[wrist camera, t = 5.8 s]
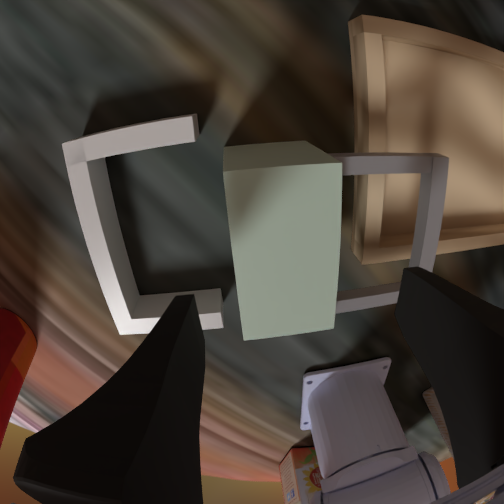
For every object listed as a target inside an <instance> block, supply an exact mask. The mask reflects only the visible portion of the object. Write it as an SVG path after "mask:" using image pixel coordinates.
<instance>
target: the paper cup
mask: <svg viewBox="0 0 504 504" xmlns="http://www.w3.org/2000/svg"><path fill="white" fill-rule="evenodd" d="M36 349H37V342H36V338H35V336H34V334H33V332H32V330H31V329H30V328H29V326H28V325H27V324H26V323H25V322H24V321H23V320H22V319H21V318H20V317H19V316H18V315H16V314H15V313H13V312H11V311H10V310H7V309H4V308H0V448H1V445H2V441H3V438H4V435H5V432H6V428H7V425H8V423H9V420H10V417H11V414H12V411H13V408H14V406H15V403H16V400H17V397H18V395H19V392H20V390H21V387H22V384H23V382H24V379H25V377H26V374H27V372H28V369H29V367H30V365H31V362H32V360H33V357H34V355H35V352H36Z"/></svg>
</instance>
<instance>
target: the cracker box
mask: <svg viewBox="0 0 504 504" xmlns="http://www.w3.org/2000/svg"><path fill="white" fill-rule="evenodd" d="M279 470H280V476H281V483H282V488H283V489H282V490H283V496H284V503H285V504H309V503H310V500H311V499H312V497H313V495H314V493H315V492H317V491H320V490H322V488H321V483H320V480H323V479H324V478H323V477H322V475H321V472H320V468H319V464H318V459H317V455H316V450H315V447H306V448H292V449H291V450H290V451H289V453H288V454H287V455H286V457H285V458H284V460H283V461H282V462H281V464H280V465H279Z"/></svg>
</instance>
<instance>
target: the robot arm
mask: <svg viewBox="0 0 504 504" xmlns="http://www.w3.org/2000/svg"><path fill="white" fill-rule="evenodd" d="M394 314H395V317H396V319H397V322H398V324H399V327H400V329H401V331H402V334H403V336H404V338H405V340H406V341H407V343H408V345H409V347H410V348H411V350H412V352H413V354H414V355H415V357H416V359H417V361H418V362H419V364H420V366H421V368H422V369H423V371H424V373H425V375H426V376H427V378H428V380H429V382H430V384H431V386H432V388H433V390H434V392H435V395H436V398H437V400H438V403H439V405H440V408H441V411H442V414H443V417H444V420H445V423H446V427H447V430H448V434H449V438H450V442H451V446H452V450H453V455H454V461H455V468H456V475H457V485H458V487H459V490H457V491H455V492H453V493H450V488H449V485H448V482H447V479H446V476H445V474H444V471H443V469H442V467H441V465H440V463H439V462H438V460H437V459H436V457H435V456H434V455H432V454H429V453H427V452H424V451H423V452H421V453H419V454H417V452H416V450H415V447H414V446H409V444H408V441H407V439H406V437H405V434H404V432H403V429H402V427H401V425H400V422H399V420H398V418H397V416H396V413H395V411H394V409H393V406H392V404H391V402H390V400H389V397H388V395H387V393H386V391H385V388H384V383H385V380H386V377H387V374H388V371H389V368H390V365H391V359H390V358H389V357H385V358H380V359H376V360H371V361H367V362H362V363H357V364H352V365H347V366H342V367H337V368H331V369H326V370H320V371H314V372H308V373H306V374H305V375H304V376H303V391H302V406H301V421H300V428H301V430H308V429H311V433H312V437H313V442H314V446H315V450H316V455H317V459H318V464H319V468H320V472H321V475H322V477H323V478H324V479H323V480H320V483H321V488H322V490H320V491H317V492H315V493H314V495H313V497H312V499H311V500H310V503H309V504H474V503H476V502H477V501H479V500H481V499H482V498H484V497H486V496H487V495H489V494H491V493H492V492H494V491H495V490H496V491H495V493H494V497H493V499H491V500H490V501H488V502H487V503H485V504H504V310H503V309H501V308H499V307H497V306H494V305H492V304H490V303H488V302H486V301H484V300H482V299H480V298H478V297H476V296H474V295H472V294H471V293H469V292H467V291H465V290H463V289H461V288H459V287H458V286H456V285H454V284H452V283H450V282H449V281H447V280H445V279H443V278H441V277H439V276H437V275H436V274H434V273H432V272H430V271H428V270H425V269H423V268H421V267H418V266H416V267H410V268H404V269H403V275H402V280H401V285H400V290H399V295H398V300H397V304H396V309H395V313H394ZM204 374H205V339H204V335H203V331H202V326H201V322H200V318H199V313H198V309H197V305H196V300H195V296H194V294H188V295H177V296H175V297H174V298H173V300H172V301H171V303H170V304H169V306H168V307H167V309H166V310H165V312H164V313H163V314H162V316H161V317H160V319H159V320H158V322H157V323H156V325H155V326H154V327H153V329H152V330H151V331H150V333H149V334H148V335H147V337H146V338H145V340H144V341H143V342H142V343H141V345H140V346H139V347H138V348H137V349H136V351H135V352H134V353H133V354H132V356H131V357H130V358H129V359H128V360H127V362H126V363H125V364H124V365H123V366H122V367H121V368H120V369H119V370H118V371H117V372H116V373H115V374H114V375H113V376H112V377H111V378H110V379H109V380H108V381H107V382H106V383H105V384H104V385H103V386H102V387H100V388H99V389H98V390H97V391H96V392H95V393H93V394H92V395H91V396H90V397H89V398H88V399H87V400H85V401H84V402H83V403H81V404H80V405H79V406H77V407H76V408H75V409H73V410H72V411H71V412H69V413H68V414H66V415H65V416H63V417H62V418H61V419H59V420H57V421H56V422H54V423H53V424H51V425H49V426H48V427H46V428H44V429H42V430H41V431H39V432H37V433H35V434H34V435H32V436H30V437H28V438H26V440H25V442H24V445H23V448H22V451H21V454H20V457H19V460H18V463H17V466H16V470H15V473H14V476H13V479H14V482H15V484H16V485H17V486H18V487H19V488H20V489H21V490H22V491H24V492H25V493H26V494H28V495H29V496H31V497H32V498H34V499H35V500H37V501H39V502H40V503H42V504H203V497H202V485H201V468H200V444H199V428H200V414H201V404H202V394H203V384H204ZM11 504H15V503H11Z"/></svg>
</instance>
